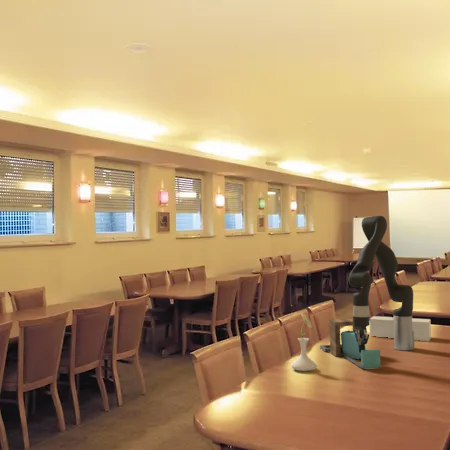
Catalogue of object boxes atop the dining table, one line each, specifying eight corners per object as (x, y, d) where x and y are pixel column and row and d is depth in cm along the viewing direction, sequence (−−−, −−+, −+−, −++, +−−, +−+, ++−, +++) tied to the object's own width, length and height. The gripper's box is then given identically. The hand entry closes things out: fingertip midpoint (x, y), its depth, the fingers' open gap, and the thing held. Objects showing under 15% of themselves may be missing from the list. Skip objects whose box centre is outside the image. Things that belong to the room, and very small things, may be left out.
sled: (354, 352, 256) (354, 336, 256) (380, 368, 226) (380, 349, 226) (338, 353, 255) (338, 337, 255) (362, 369, 225) (362, 350, 225)
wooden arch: (357, 351, 260) (357, 318, 260) (364, 355, 252) (363, 321, 252) (330, 353, 258) (329, 319, 258) (335, 357, 250) (335, 322, 250)
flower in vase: (316, 373, 220) (315, 315, 221) (290, 372, 223) (289, 315, 223) (317, 366, 233) (316, 311, 234) (292, 365, 236) (291, 311, 236)
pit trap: (352, 347, 271) (352, 343, 271) (358, 350, 263) (358, 346, 263) (320, 348, 268) (320, 345, 268) (325, 352, 260) (325, 348, 260)
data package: (366, 358, 244) (364, 333, 244) (359, 360, 242) (357, 334, 242) (349, 354, 254) (347, 330, 255) (342, 355, 252) (340, 331, 252)
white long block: (370, 337, 297) (369, 318, 297) (373, 334, 306) (373, 316, 307) (429, 341, 282) (428, 322, 282) (430, 338, 292) (430, 319, 292)
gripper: (374, 317, 231) (375, 355, 231) (363, 312, 244) (363, 349, 244) (358, 317, 230) (359, 356, 230) (348, 313, 243) (348, 349, 243)
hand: (361, 352), depth 237 cm, fingers closed
